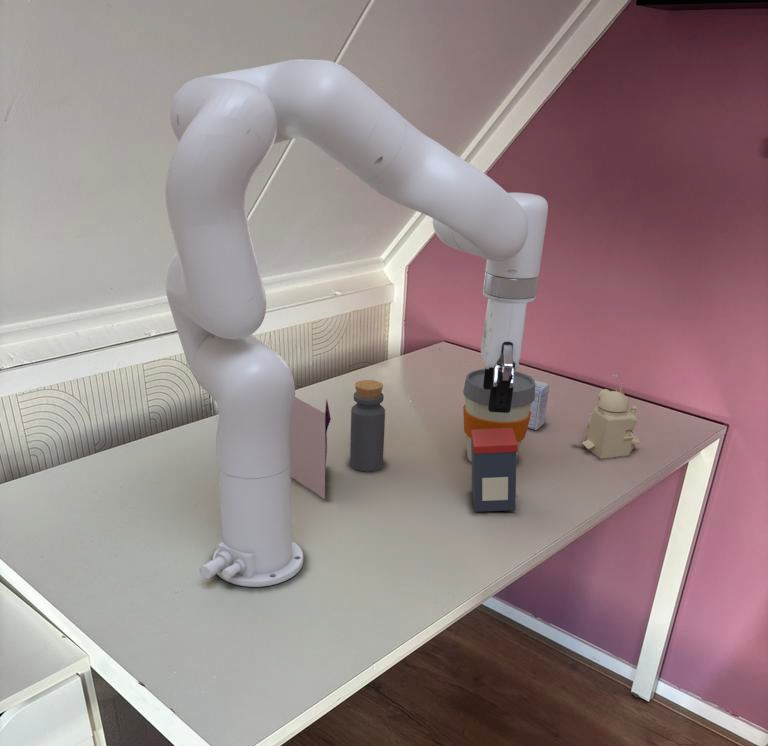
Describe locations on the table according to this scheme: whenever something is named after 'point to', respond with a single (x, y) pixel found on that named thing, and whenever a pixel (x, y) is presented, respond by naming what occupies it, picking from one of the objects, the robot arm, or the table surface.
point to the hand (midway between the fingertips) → (495, 400)
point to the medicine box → (539, 405)
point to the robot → (611, 426)
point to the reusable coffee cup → (484, 419)
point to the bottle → (367, 427)
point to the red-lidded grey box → (493, 469)
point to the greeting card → (309, 446)
